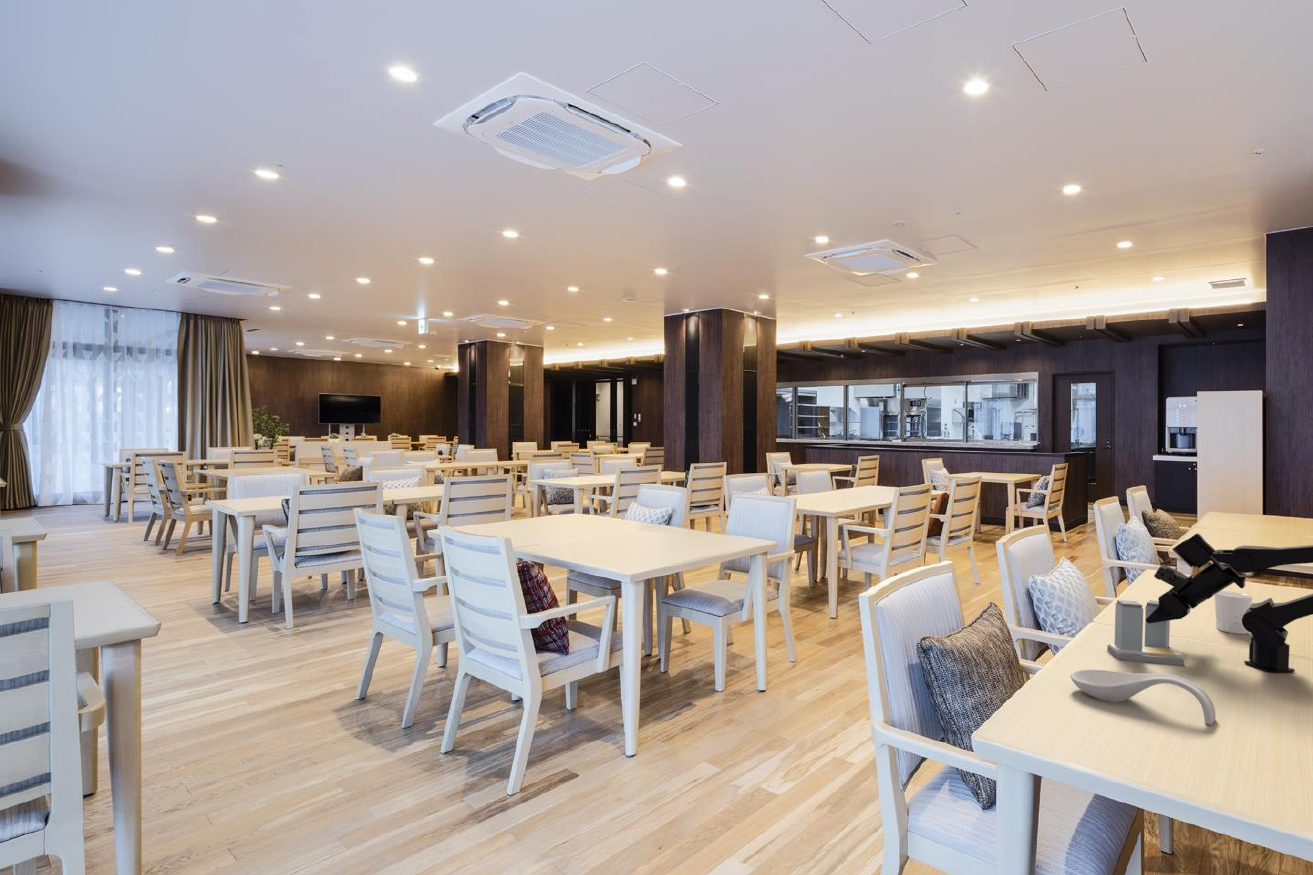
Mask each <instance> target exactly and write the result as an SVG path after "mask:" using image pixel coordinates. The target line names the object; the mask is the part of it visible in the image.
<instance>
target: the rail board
mask: <svg viewBox="0 0 1313 875" xmlns="http://www.w3.org/2000/svg"><path fill="white" fill-rule="evenodd" d="M1106 646H1107V648H1106V650H1107V652H1109V653H1110V655H1112V656H1113V655H1114V656H1113V657H1114V658H1115V659H1117V660H1118V661H1131V662H1143V663H1153V664H1164V665H1166V664H1167V665H1179V666H1185V658H1184V657H1183V654H1181V653H1180V652H1178V651H1177V650H1175V649H1173V648H1169V647H1168V648H1155V647H1148V646H1143V645H1142V651H1131V650H1121V649H1120V648H1118V647H1117V646H1116V645H1115V643H1109V644H1107V645H1106Z"/></svg>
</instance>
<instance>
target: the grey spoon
mask: <svg viewBox="0 0 1313 875" xmlns="http://www.w3.org/2000/svg"><path fill="white" fill-rule="evenodd" d="M1070 679H1071V681H1072V682H1073V684H1074V685H1075V686H1076V687H1077V688H1078V689H1079V690H1080V691H1082V692H1083V693H1085V695H1088V696H1090V697H1092V698H1094V699H1097V700H1099V701H1104V702H1107V703H1109V702H1110V703H1123V702H1125V701H1126V700H1128V699H1130V698H1132V697H1134V696H1136V695H1137V694H1139V693H1141V692H1143V691H1145V690H1146V689H1149V688H1151V687H1153V686H1156V685H1161V684H1168V685H1174V686H1177V687H1180V688H1182V689H1183V690H1185V691H1187V692H1189V693H1190V694H1191V695H1193V696H1194V697H1195V698H1196V700H1197V701H1199V704H1200V706H1201V708H1202V712H1203V719H1204V722H1205V724H1206V725H1208V726H1212V725H1213V723H1214V722H1215V721H1216V717H1217V716H1216V710H1215V709H1216V708H1215V706H1214V704H1213V703H1214V702H1213V701H1212V699H1211V697H1210V696H1209V695H1208V693H1206V692H1205V690H1203V688H1201V687H1200V686H1198V685H1197V684H1196V683H1194V682H1192V681H1190V680H1188V679H1187V678H1183V677H1181V676H1179V675H1176V674H1171V673H1165V672H1155V673H1153V672H1151V673H1150V672H1149V673H1148V672H1147V673H1135V672H1134V673H1133V672H1132V673H1131V672H1122V671H1121V672H1120V671H1114V670H1113V671H1112V670H1105V669H1104V670H1103V669H1081V670H1076V671H1074V672H1073V673H1071V675H1070Z"/></svg>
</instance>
